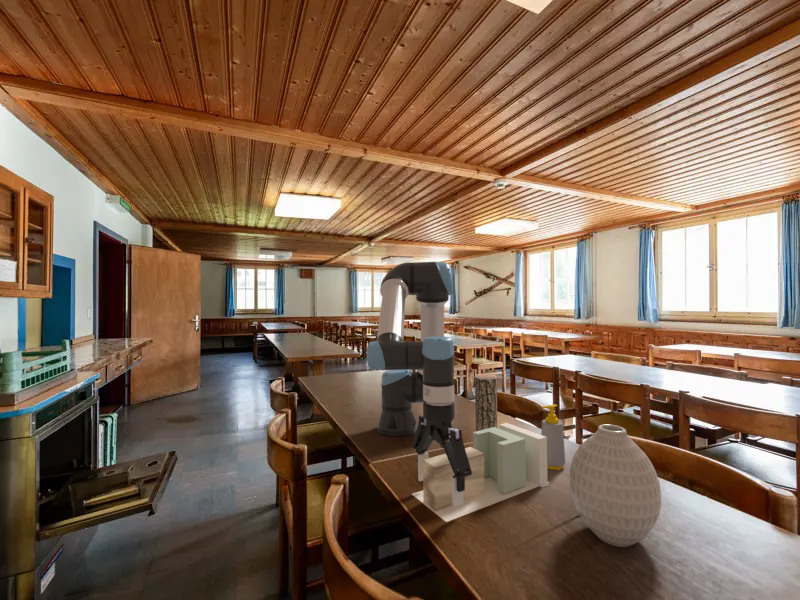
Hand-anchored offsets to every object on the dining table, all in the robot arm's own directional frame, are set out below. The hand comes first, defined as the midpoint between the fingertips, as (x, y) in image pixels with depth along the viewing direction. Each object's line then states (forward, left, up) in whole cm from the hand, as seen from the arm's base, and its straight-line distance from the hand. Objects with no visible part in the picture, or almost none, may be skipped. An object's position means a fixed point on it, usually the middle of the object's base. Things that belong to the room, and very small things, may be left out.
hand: (439, 491), depth 88 cm
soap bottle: (0, +42, -4) cm, 42 cm away
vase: (+28, +24, -4) cm, 37 cm away
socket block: (0, +19, -2) cm, 20 cm away
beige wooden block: (0, +5, -3) cm, 5 cm away
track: (0, +14, -4) cm, 14 cm away
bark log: (-17, +32, -4) cm, 36 cm away
